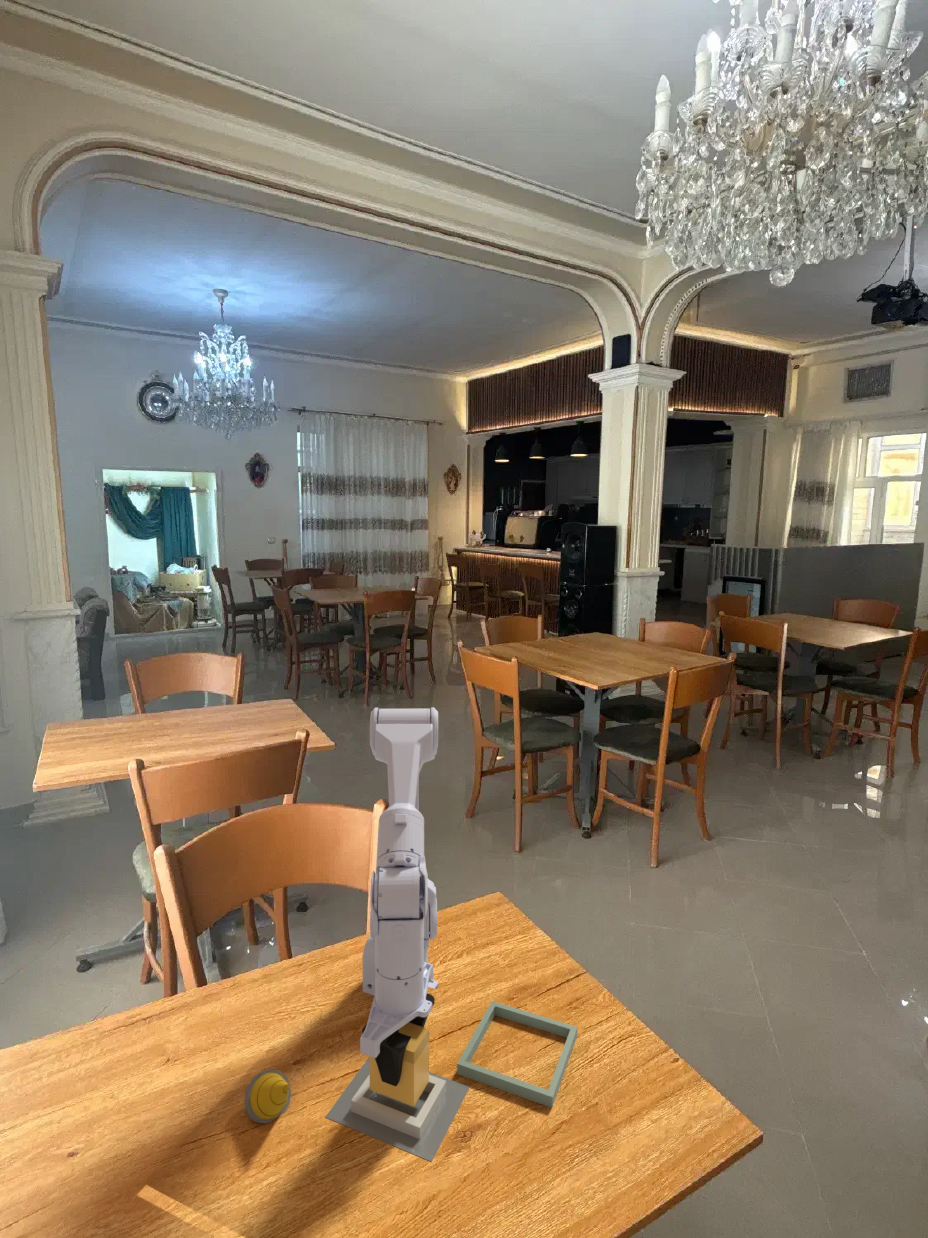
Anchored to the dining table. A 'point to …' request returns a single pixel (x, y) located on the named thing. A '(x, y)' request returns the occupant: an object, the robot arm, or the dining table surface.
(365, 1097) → the board
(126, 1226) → the dining table surface
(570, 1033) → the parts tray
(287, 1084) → the yellow cone
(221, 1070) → the dining table surface
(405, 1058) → the yellow rectangular block
